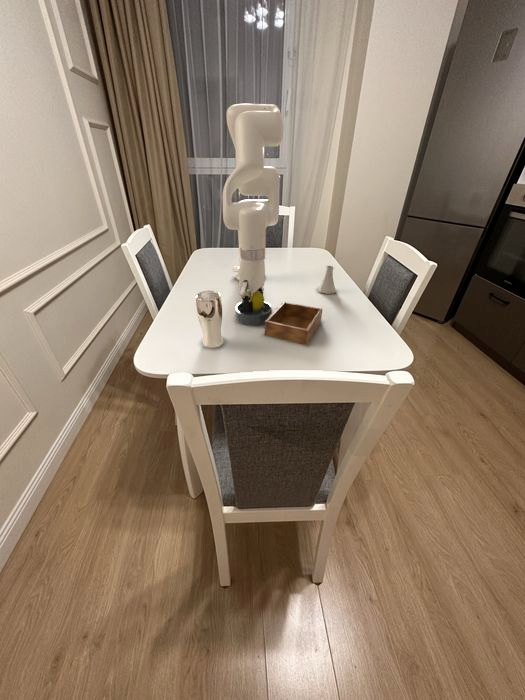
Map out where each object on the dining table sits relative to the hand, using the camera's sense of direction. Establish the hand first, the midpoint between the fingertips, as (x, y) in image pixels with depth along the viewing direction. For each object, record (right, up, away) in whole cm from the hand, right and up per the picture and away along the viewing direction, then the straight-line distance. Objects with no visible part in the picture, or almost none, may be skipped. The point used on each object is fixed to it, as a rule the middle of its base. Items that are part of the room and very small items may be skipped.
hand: (253, 306), depth 95 cm
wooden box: (+13, -8, -4) cm, 16 cm away
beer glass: (-12, -13, -11) cm, 20 cm away
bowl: (0, -4, +2) cm, 4 cm away
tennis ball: (0, -1, +1) cm, 2 cm away
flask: (+29, +10, +22) cm, 38 cm away
